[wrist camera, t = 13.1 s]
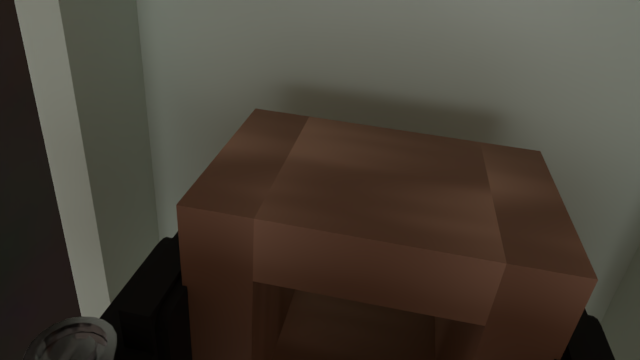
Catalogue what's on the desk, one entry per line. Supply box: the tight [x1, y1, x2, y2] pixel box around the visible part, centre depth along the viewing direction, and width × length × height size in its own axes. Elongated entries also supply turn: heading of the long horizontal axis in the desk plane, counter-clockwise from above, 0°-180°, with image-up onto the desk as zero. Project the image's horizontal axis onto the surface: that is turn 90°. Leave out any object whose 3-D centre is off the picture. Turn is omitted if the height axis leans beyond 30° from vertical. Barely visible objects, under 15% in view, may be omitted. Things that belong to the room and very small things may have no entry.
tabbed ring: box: [176, 108, 598, 360], centre depth 11 cm, size 6×8×4 cm
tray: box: [14, 0, 640, 360], centre depth 13 cm, size 16×16×4 cm
